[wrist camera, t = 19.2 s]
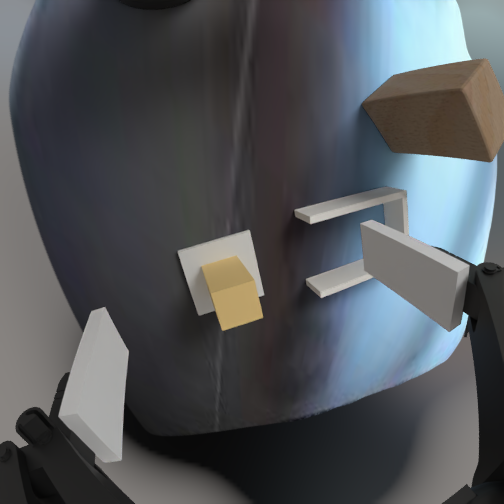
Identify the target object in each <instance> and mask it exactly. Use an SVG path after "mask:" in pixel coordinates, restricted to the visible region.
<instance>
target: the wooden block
mask: <svg viewBox="0 0 504 504" xmlns="http://www.w3.org/2000/svg"><path fill="white" fill-rule="evenodd" d="M362 106H363V108H364V109H365V111H366V112H367V113H368V115H369V116H370V118H371V119H372V121H373V122H374V124H375V125H376V127H377V128H378V130H379V132H380V133H381V135H382V136H383V138H384V139H385V141H386V143H387V144H388V146H389V147H390V149H391V151H392V152H394V153H408V154H421V155H433V156H443V157H452V158H461V159H469V160H477V161H484V162H492V161H493V159H494V157H495V156H496V154H497V152H498V150H499V148H500V147H501V145H502V143H503V141H504V95H503V93H502V90H501V88H500V86H499V83H498V81H497V79H496V76H495V74H494V72H493V69H492V67H491V65H490V63H489V61H488V60H487V59H477V60H469V61H462V62H456V63H450V64H444V65H438V66H433V67H428V68H423V69H418V70H413V71H409V72H405V73H400V74H396V75H393V76H392V77H391V78H389V79H388V80H387V81H386V82H385V83H384V84H383V85H381V86H380V87H379V88H378V89H377V90H376V91H375V92H374V93H373V94H371V95H370V96H369V97H368V98H367V99H366V100H365V101H364V102H363V103H362Z"/></svg>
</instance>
